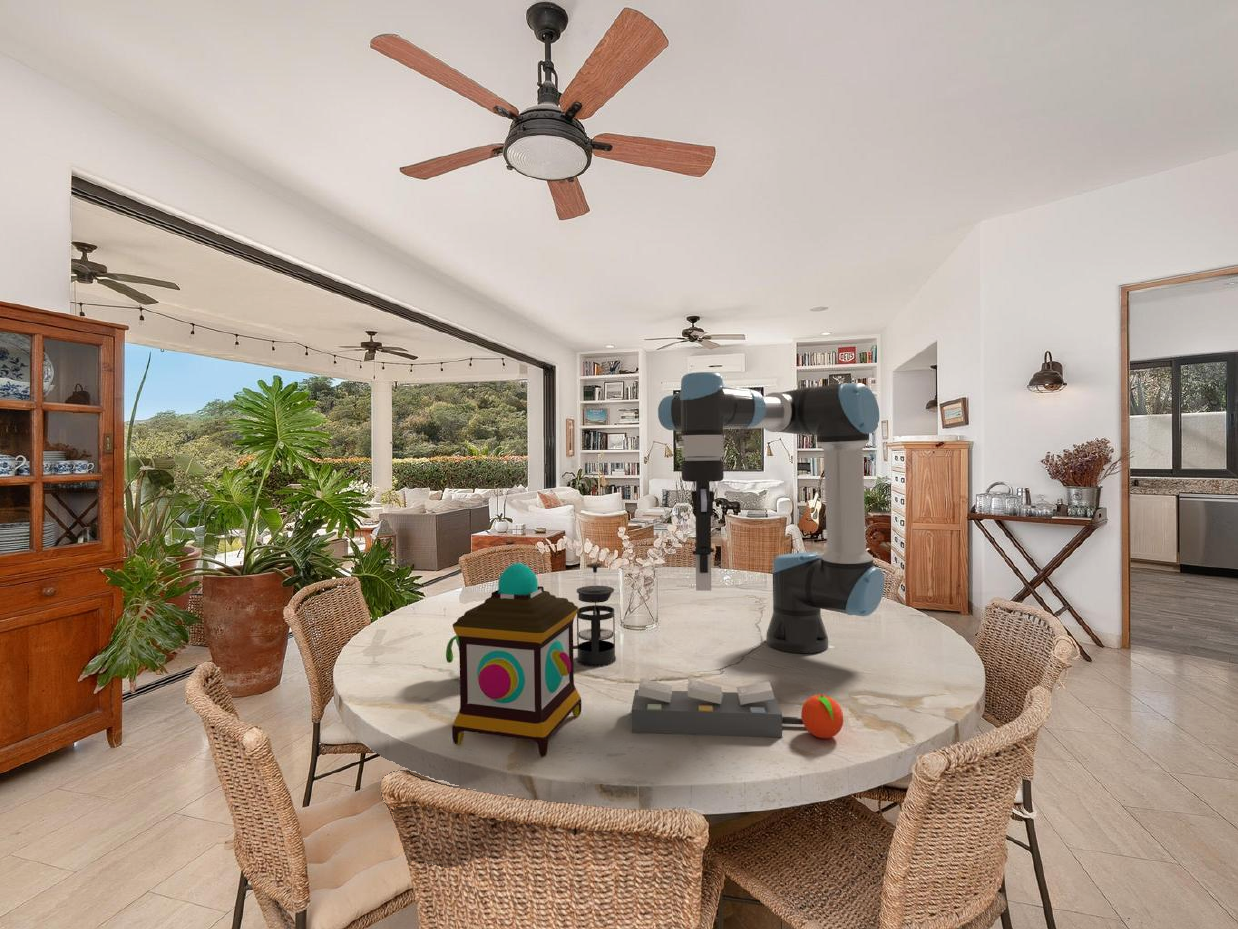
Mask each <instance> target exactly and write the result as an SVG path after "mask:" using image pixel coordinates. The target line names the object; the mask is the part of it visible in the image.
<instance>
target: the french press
mask: <svg viewBox="0 0 1238 929" xmlns="http://www.w3.org/2000/svg"><path fill="white" fill-rule="evenodd" d="M585 567H586V568H592V572H593V573H594V576H593V577H594V580H593V581H594V585H587V586H581V587H579V588H577V589H576V593H577V594H578V600H579V601H580V602H583V603H589V604H593V603H594V605H587V606H581V607H578V612H577V614H576V633H577V634H576V639H577V641H576V642H577V645H573V650H577V651H576V652H577V657H576V662H577V664H579V665H581V666H585V667H590V666H593V667H592V668H594V666H600V667H604V666H603V665H606V666H609V665H608V664H610V663H612V664H613V662H614V663H615V662H616V661H617V656H616V637H615V636H616V634H615V632H616V631H615V630H616V625H615V624H616V622H615V608H614V607H612V606H609V605H599V604H598V603H605V602H607V601H608V600H609V599H610V597H611V596H612V593H614V591H615V588H613V587H611V586H607V585H597V573H598V568H603V567H605V565H604V564H603V563H600V562H599V563H589V564H586V565H585ZM597 604H598V605H597ZM587 612H592V614H584V613H587ZM601 612H607V613H602V614H601ZM610 619H613V620H612V621H613V622H612V623H613V626H612V627H613V628H612V630H611V629H608V628H601V621H606V620H610ZM579 620H584V621H590V628H586V629H583V630H579V629H580V628H579ZM611 638H613V642H611V641H608V640H609V639H611ZM580 639H581V640H584V642H581V643H580ZM610 665H611V664H610Z"/></svg>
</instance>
